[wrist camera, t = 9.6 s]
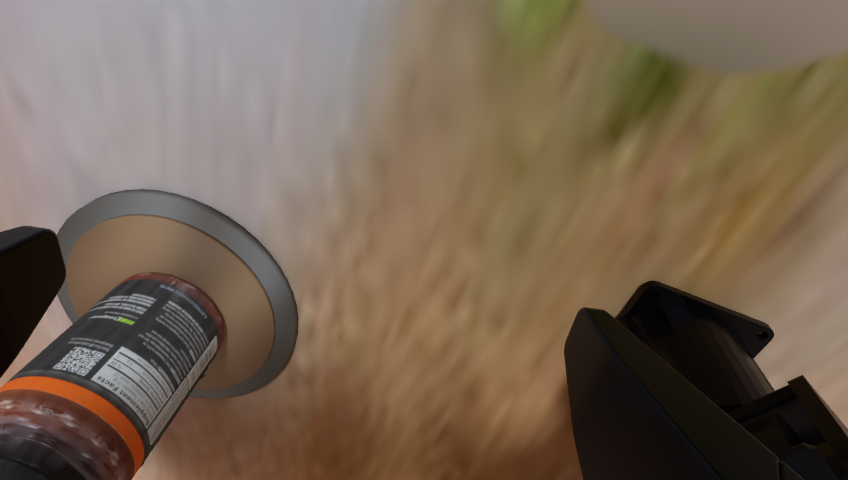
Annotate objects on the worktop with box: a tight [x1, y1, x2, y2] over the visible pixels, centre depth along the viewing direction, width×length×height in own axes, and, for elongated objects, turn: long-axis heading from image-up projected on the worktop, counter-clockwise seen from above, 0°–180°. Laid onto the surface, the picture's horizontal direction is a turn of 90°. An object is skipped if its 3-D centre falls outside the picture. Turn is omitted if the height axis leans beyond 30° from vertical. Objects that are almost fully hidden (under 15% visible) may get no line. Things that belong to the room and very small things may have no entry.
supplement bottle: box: [0, 272, 224, 480], centre depth 21 cm, size 6×6×11 cm
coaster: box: [57, 189, 298, 398], centre depth 26 cm, size 13×13×1 cm
